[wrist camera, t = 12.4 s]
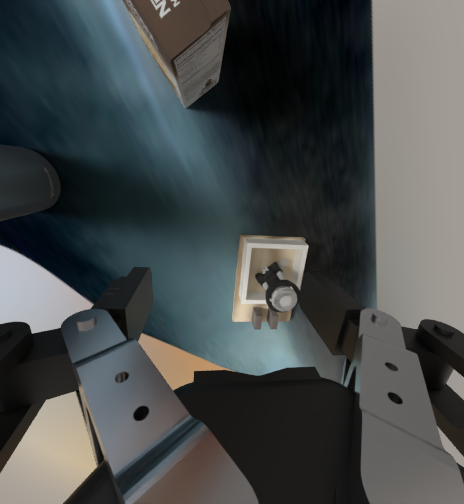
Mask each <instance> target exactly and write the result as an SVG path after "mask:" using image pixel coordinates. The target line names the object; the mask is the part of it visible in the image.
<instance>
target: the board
mask: <svg viewBox="0 0 464 504" xmlns="http://www.w3.org/2000/svg"><path fill="white" fill-rule="evenodd" d="M244 238H263V239H286V240H302V241H304V242H305V239H304V238H303V237H283V236H260V235H240V237H239V248H238V259H237V270H236V281H235V293H234V304H233V315H232V320H233V322H252V323H253V326H254V329H261V323H262V321H267V322H268V324H269V326H270V329H277V324H278V321H290V316H291V311H292V309H291V310H290V311H287V312H282V313H279V312H275V311H273V310H271V309H270V308H269V307H268V305H267V304H241V301H240V297H239V289H240V279H241V268H242V258H243V248H244ZM295 251H296V249H271V248H252V250H251V259H250V268H249V277H248V286H247V292H266V289H264V288H263V287H262V286H261V285H260V284H259V283H258V282H257V280H256V278H255V275H256V274H257V273H261V272H262V268H263V267H264V266H267V267H269V266H270V265H271V264H272V263H274V262H276V263H278V262H280V261H281V260H282V259H284V258H285V260H286V261H287V262H288V264H287V265H285V266H284V268H283V269H282V270H283V272H284V275H283V277H284V279H285V280H289V281H290V278H291V273H292V267H293V262H294V256H295ZM282 262H284V260H283V261H282ZM284 264H286V262H285V263H284ZM264 269H265V268H264Z"/></svg>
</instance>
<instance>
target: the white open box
mask: <svg viewBox="0 0 464 504" xmlns="http://www.w3.org/2000/svg"><path fill="white" fill-rule="evenodd" d="M308 247H309V245H308V244H306V243H305V242H304V241H302V240H286V239H263V238H244V248H243V258H242V268H241V279H240V289H239V297H240V301H241V304H267V303H266V296H265V294H266V292H247V286H248V277H249V268H250V259H251V250H252V248H271V249H296V251H295V256H294V262H293V267H292V273H291V278H290V281H291V282H292V283H294V284H295V285H296V286H297V287H298V288H299V290H300V286H301V281H302V276H303V271H304V266H305V262H306V257H307V252H308ZM291 289H293V288H292V287H291ZM270 301H271V298H270Z"/></svg>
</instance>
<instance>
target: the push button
mask: <svg viewBox="0 0 464 504" xmlns="http://www.w3.org/2000/svg"><path fill="white" fill-rule="evenodd" d="M283 260H284V262H282V261H283ZM285 262H286V264H284V263H285ZM287 264H288V262H287V261H286V260H285V258H284V259H282V260H281V261H280V262H278V263H276V262H274V263H272V264H271V265H270V266H269V267H267V266H264V267H263V268H262V272H261V273H257V274H256V275H255V278H256V280H257V282H258V283H259V284H260V285H261V286H262V287H263V288H264V289H266V294H265V296H266V303H267V305H268V307H269V308H270V309H271V310H273V311H275V312H279V313H282V312H287V311H290V310H291V309H293V308H294V307H295V306H296V305H297V304H298V302H299V295H300V290H299V288H298V287H297V286H296V285H295V284H294V283H292V282H291V281H289V280H285V279H284V277H283V275H284V272H283V270H282V269H283V268H284V266H285V265H287ZM264 268H265V269H264ZM291 287H292V288H293V289H291ZM270 298H271V301H270Z"/></svg>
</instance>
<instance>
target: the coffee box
mask: <svg viewBox="0 0 464 504" xmlns="http://www.w3.org/2000/svg"><path fill="white" fill-rule="evenodd" d="M123 2H124V4H125V6H126V8H127V10H128V12H129V14H130V16H131V18H132V20H133V22H134V24H135V26H136V28H137V30H138V32H139V34H140V36H141V38H142V40H143V42H144V44H145V45H146V47H147V49H148V50H149V52H150V53H151V55H152V56H153V58H154V60H155V61H156V63H157V64H158V66H159V67H160V69H161V71H162V72H163V74H164V75H165V77H166V79H167V80H168V82H169V83H170V85H171V87H172V88H173V90H174V91H175V93H176V95H177V96H178V98H179V99H180V101H181V102H182V104H183V106H184V107H185V108H187V107H189V106H190V105H191V104H192V103H193V102H195V101H196V100H197V99H198V98H200V97H201V96H202V95H203V94H205V93H206V92H207V91H208V90H210V89H211V88H212V87H213V86H214V85H216V84H217V83H218V81H219V75H220V69H221V63H222V57H223V51H224V45H225V39H226V33H227V27H228V21H229V15H230V9H231V7H230V4H229V2H228V0H123Z"/></svg>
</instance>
